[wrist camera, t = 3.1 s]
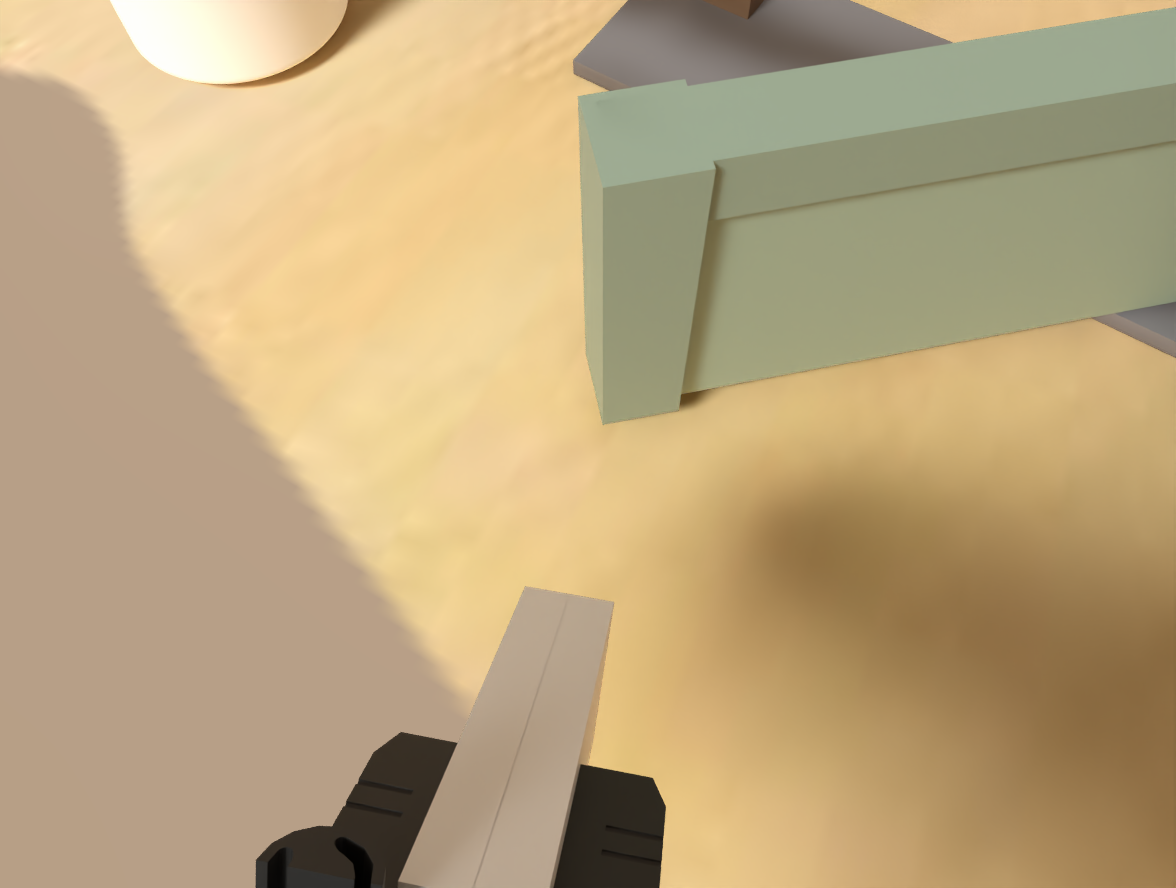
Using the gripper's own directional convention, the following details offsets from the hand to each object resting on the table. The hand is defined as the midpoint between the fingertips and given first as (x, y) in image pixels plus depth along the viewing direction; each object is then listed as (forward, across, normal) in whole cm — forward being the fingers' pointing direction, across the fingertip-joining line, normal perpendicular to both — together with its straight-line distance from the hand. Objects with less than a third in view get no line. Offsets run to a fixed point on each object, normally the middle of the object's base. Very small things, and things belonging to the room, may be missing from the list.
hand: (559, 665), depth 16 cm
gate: (+15, +9, +4) cm, 18 cm away
